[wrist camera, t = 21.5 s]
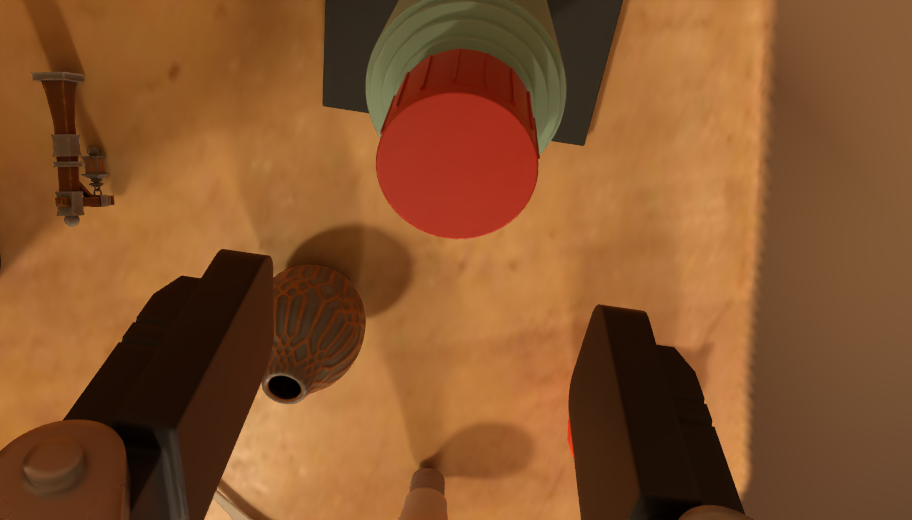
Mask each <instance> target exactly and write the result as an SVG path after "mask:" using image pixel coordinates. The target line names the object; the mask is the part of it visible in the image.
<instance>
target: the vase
mask: <svg viewBox="0 0 912 520" xmlns="http://www.w3.org/2000/svg"><path fill="white" fill-rule="evenodd" d="M273 298H274V338H273V346H272V352H271V356H270V360H269V364H268V367H267V369H266V372H265V374H264V377H263V379H262V388H263V390H264V392H265V394H266V395H267V396H268V397H269V398H270V399H272V400H274V401H276V402H278V403H282V404H294V403H297V402H300V401H301V400H303V399H304V398H305V397H306V396H307V395H308V394H311V393H314V392H316V391H319V390H322V389H324V388H326V387H328V386H330V385H332V384H333V383H335V382H336V381H337V380H339V379H340V378H341V377H342V376H343V375H344V374H345V373H346V372H347V371H348V369H349V368H350V367H351V365H352V364H353V363H354V361H355V359H356V358H357V356H358V354H359V352H360V349H361V346H362V343H363V339H364V334H365V325H366V320H365V311H364V306H363V302H362V300H361V297H360V295H359V293H358V291H357V289H356V288H355V286H354V285H353V284H352V283H351V282H350V281H349V280H348V279H347V278H346V277H345V276H343V275H342V274H340V273H339V272H337V271H335V270H333V269H331V268H328V267H325V266H321V265H299V266H295V267H291V268H289V269H287V270H285V271H283V272H281V273H279V274H278V275H276V276H275V277H273Z"/></svg>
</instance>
